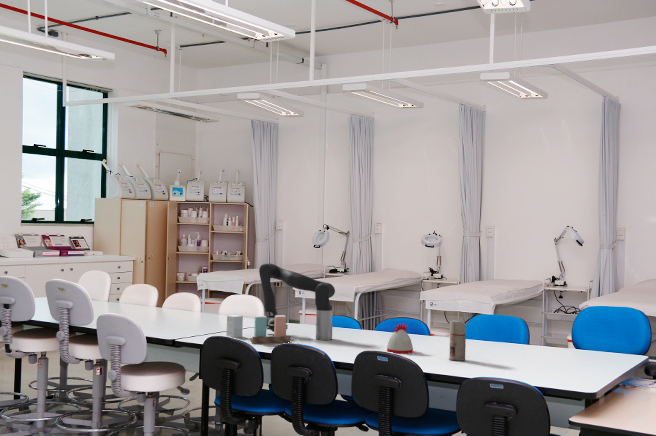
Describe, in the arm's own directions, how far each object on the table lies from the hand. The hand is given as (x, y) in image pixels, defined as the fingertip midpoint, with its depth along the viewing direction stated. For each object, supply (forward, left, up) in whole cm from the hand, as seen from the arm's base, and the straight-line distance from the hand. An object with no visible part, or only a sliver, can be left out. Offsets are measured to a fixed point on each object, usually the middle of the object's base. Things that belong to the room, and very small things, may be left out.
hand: (279, 329), depth 374 cm
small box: (+24, -19, -8) cm, 31 cm away
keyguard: (+6, +2, -8) cm, 10 cm away
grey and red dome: (-60, +35, -8) cm, 70 cm away
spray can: (-81, +62, -8) cm, 103 cm away
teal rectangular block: (+11, +4, -7) cm, 14 cm away
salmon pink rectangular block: (0, +2, -7) cm, 7 cm away
